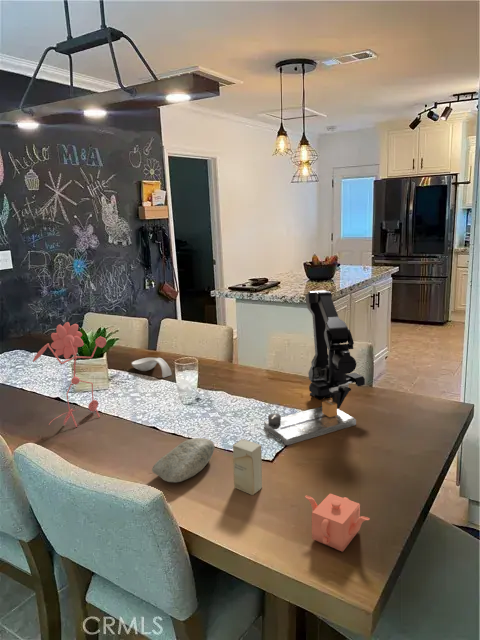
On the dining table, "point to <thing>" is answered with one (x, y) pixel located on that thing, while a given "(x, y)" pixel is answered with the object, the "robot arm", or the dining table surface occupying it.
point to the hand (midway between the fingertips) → (337, 408)
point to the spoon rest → (152, 365)
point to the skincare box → (247, 466)
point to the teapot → (335, 521)
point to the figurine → (67, 345)
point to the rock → (184, 460)
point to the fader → (329, 408)
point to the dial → (274, 419)
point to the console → (308, 425)
